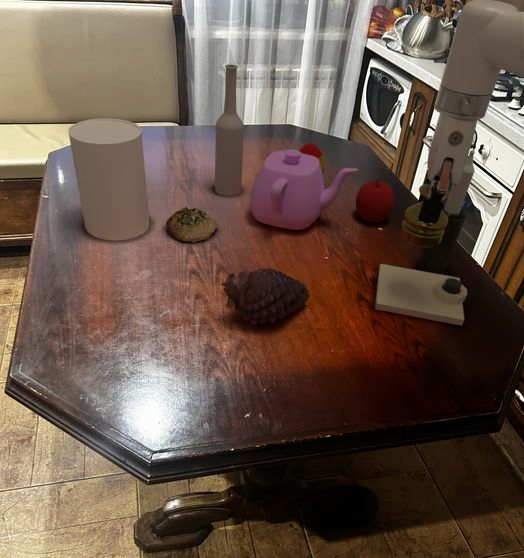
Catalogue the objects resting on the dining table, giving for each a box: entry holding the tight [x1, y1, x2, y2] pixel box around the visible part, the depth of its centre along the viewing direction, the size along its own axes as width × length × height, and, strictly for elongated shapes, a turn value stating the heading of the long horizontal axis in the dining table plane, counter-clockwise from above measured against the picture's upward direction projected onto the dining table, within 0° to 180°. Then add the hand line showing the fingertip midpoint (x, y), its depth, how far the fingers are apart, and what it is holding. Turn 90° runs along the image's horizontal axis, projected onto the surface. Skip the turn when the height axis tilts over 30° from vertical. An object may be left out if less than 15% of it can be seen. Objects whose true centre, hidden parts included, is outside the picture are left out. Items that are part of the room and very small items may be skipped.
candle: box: [416, 149, 476, 275], centre depth 99 cm, size 5×5×25 cm
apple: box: [355, 178, 395, 224], centre depth 119 cm, size 9×9×10 cm
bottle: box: [214, 63, 245, 197], centre depth 119 cm, size 7×7×28 cm
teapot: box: [249, 148, 359, 231], centre depth 113 cm, size 23×21×15 cm
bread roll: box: [165, 206, 219, 243], centre depth 111 cm, size 11×11×5 cm
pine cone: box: [220, 267, 311, 326], centre depth 89 cm, size 18×10×10 cm
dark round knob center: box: [443, 278, 463, 294], centre depth 97 cm, size 3×3×2 cm
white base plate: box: [374, 263, 468, 326], centre depth 99 cm, size 16×14×3 cm
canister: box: [67, 117, 150, 241], centre depth 105 cm, size 14×14×20 cm
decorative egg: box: [298, 142, 325, 175], centre depth 131 cm, size 8×8×10 cm
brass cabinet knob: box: [399, 182, 450, 248], centre depth 88 cm, size 7×7×10 cm
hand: (427, 212), depth 88 cm, fingers closed on brass cabinet knob, 5 cm apart
